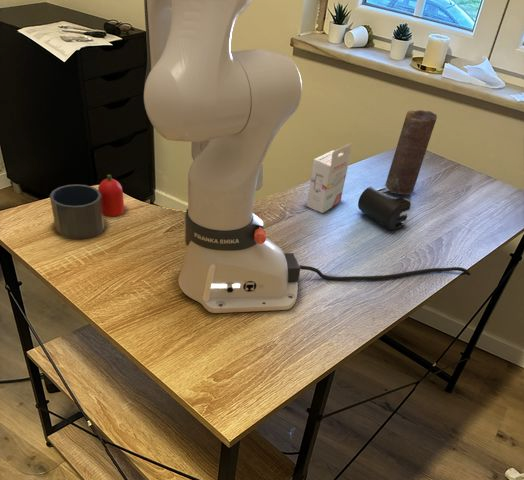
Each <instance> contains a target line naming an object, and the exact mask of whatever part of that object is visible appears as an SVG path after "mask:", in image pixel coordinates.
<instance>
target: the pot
mask: <svg viewBox="0 0 524 480" xmlns="http://www.w3.org/2000/svg"><path fill="white" fill-rule="evenodd" d="M49 200H50V206H51V211H52V216H53V222H54V227H55V231H56V232H57V234H59V235H60V236H62V237H65V238H68V239H74V240H84V239H89V238H90V239H91V238H93V237H96V236H98V235H100V234H101V233H102V232H103V231H104V230H105V215H104V214H103V205H102V195H101V193H100V191H99V190H98V189H97V188H96V187H94V186H90V185H87V184H80V183H79V184H78V183H75V184H66V185H63V186H59V187H57V188H55V189H53V190H52V191H51V193H49Z"/></svg>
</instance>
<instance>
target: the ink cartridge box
mask: <svg viewBox="0 0 524 480" xmlns="http://www.w3.org/2000/svg"><path fill="white" fill-rule="evenodd" d="M351 149H352V143H348V144H345V145H343V146H341V147H340V148H338V149H336V150H334V149H332V150H330V151H328V152H326V153H324V154H322V155H320V156H318V157H316V158H313V164H312V169H311V175H310V181H309V188H308V194H307V200H306V201H307V202H306V207H307V208H309V209H312V210H314V211H316V212H318V213H321V214H324V213H326V212H327V211H329V210H330V209H332V208H334V206H336V205H338V204H339V203H341V200H342V196H343V191H344V186H345V182H346V176H347V173H348V167H349V163H350V159H351Z"/></svg>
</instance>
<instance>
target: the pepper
mask: <svg viewBox="0 0 524 480" xmlns="http://www.w3.org/2000/svg"><path fill="white" fill-rule="evenodd" d="M97 190H99V191H100V193H101V195H102V205H103V214H104V216H108V217H117V216H120V215H122V214H124V212H125V203H124V191H123V185H122V184H121V183H120V182H119V181H118V180H116V179H114V178H112V174H107V175H106V178H104V179H102V180H101V182H100V183H99V185H98V189H97Z"/></svg>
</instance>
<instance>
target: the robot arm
mask: <svg viewBox="0 0 524 480" xmlns="http://www.w3.org/2000/svg"><path fill="white" fill-rule="evenodd" d="M252 1H253V0H143V6H144V23H145V39H146V40H145V41H146V54H147V55H146V56H147V57H146V71H145V77H144V84H143V85H144V86H143V87H144V89H143V104H144V109H145V111H146V115H147V118H148V120H149V122H150V123H151V125H152V127H153V128H154V130H156V132H157V133H158V134H159V135H160V136H161V137H162V138H164V140H165V139H166V140H167V141H171V142H185V143H187V142H189V143H191V145H190V146H191V147H190V148H191V154H190V155H191V158H192V163H191V164H190V167H189V170H188V176H187V179H188V180H187V184H188V185H187V209H186V210H185V216H184V223H183V224H184V225H183V226H184V227H183V228H184V229H183V230H184V234H183V235H184V240H185V241H184V242H185V252H184V257H183V263H182V266H181V269H180V273H179V275H178V280H177V281H178V282H177V283H178V287H179V289H180V290H181V291H182V292H183V293H184V294H185V295H186V296H187V297H188V298H190V299H191V300H193V301H196V302H198V303H199V304H201V305H202V306H203V308H204V309H205V310H206V311H207V312H209V313H211V314H224V313H246V312H247V313H248V312H268V311H270V312H271V311H287V310H291V309H292V307H293V306H294V305H296V302H297V299H298V292H299V291H298V290H299V286H298V285H299V284H298V282H299V279H300V273H301V270H304V271H311V272H315V273H316V274H317V275H318V276H319V277H320V278H321V279H325V280H328V281H338V282H341V281H344V282H345V281H374V280H378V281H379V280H389V279H397V278H402V277H408V276H414V275H419V274H420V275H421V274H427V273H439V272H454V271H455V272H456V271H457V272H462V273H464V274H465V275H467V276H471V273H470V271H469V270H468V269H466V268H465V267H460V266H452V267H433V268H432V267H431V268H424V269H417V270H411V271H405V272H400V273H394V274H393V273H392V274H383V275H370V276H369V275H367V276H366V275H360V276H359V275H358V276H357V275H356V276H355V275H354V276H353V275H352V276H351V275H350V276H331V275H326V274H324V273H323V272H322V271H321V270H320V269H318V268H316V267H314V266H308V265H301V264H299V262H298V260H297V258H296V257H295V255H294V253H293V252H284V251H283V249H282V247H280V246H279V245H278V244H276V243H275V242H273V240H271V239H269V237H267V231H266V230H265V229H264V220H262V215H261V213H260V212H258V215H256V213H254V208H255V207H254V206H255V198H256V197H255V196H256V193H257V191H259V190H260V189H262V187H263V184H264V165H263V163H264V160H265V158H266V156H267V153H268V151H269V149H270V147H271V145H272V143H273V142H274V140H275V138H276V136H277V135H278V133H279V131H280V130H281V129H282V127H283V126H284V124H285V123H286V122H287V121H288V120H290V118H291V117H292V116H293V115H294V114H295V113H296V112H297V110H298V108H299V106H300V103H301V101H302V100H301V99H302V93H303V83H302V78H301V74H300V71H299V69H298V66H297V65H296V63H295V62H294V60H293V58H291V56H289V55H288V54H286V53H282V52H277V51H273V50H268V49H263V48H253V49H243V50H242V49H241V50H233V51H232V48H231V47H232V46H231V45H232V43H231V42H232V34H233V30H234V26H235V23H236V21H237V19H238V18H239V17H240V16H242V14H244V13H245V11H247V9H248V8H249V7H250V5H251V3H252Z"/></svg>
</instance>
